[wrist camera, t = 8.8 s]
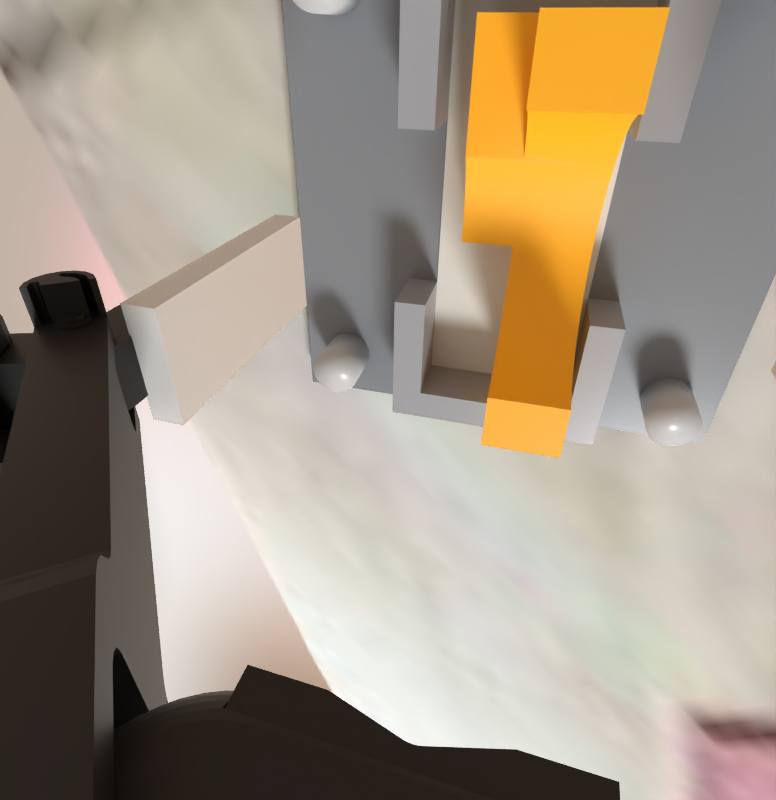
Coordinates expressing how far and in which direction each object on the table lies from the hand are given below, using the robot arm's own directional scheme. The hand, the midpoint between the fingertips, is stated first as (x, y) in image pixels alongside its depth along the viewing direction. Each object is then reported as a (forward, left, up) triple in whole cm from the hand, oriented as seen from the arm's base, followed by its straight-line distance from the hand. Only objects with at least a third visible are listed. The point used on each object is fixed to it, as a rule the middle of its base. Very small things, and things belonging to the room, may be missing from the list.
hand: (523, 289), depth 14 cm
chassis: (0, 0, -8) cm, 8 cm away
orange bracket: (0, 0, -7) cm, 7 cm away
